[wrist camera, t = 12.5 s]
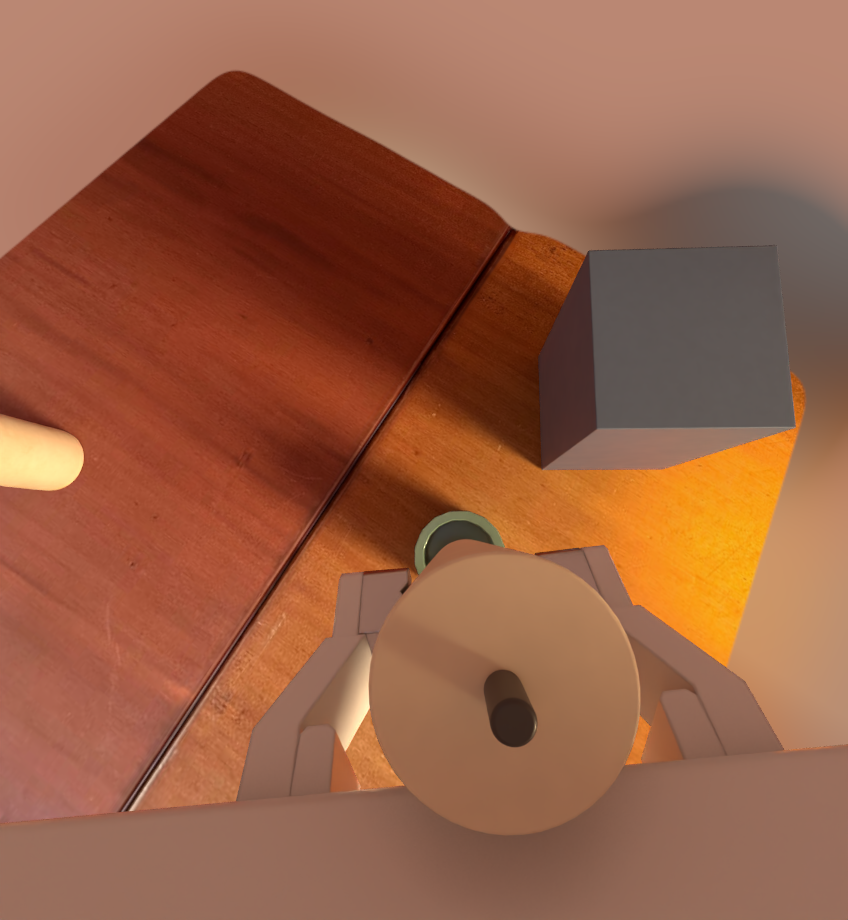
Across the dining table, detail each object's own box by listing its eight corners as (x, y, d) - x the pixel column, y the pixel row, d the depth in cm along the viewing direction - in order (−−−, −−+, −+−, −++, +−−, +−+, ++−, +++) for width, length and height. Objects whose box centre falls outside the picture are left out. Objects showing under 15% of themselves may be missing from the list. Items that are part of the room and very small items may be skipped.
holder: (498, 513, 43) (504, 510, 38) (499, 594, 42) (506, 603, 37) (419, 513, 44) (414, 510, 38) (419, 593, 43) (414, 602, 37)
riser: (655, 354, 44) (777, 244, 28) (662, 469, 43) (796, 427, 26) (538, 356, 45) (588, 249, 28) (541, 469, 44) (596, 429, 27)
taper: (493, 530, 19) (624, 517, 4) (514, 605, 19) (735, 863, 4) (421, 550, 19) (314, 599, 5) (440, 624, 19) (393, 949, 4)
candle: (75, 496, 46) (-30, 486, 36) (17, 484, 46) (-101, 471, 36) (92, 436, 46) (-6, 409, 36) (35, 425, 47) (-77, 396, 37)
